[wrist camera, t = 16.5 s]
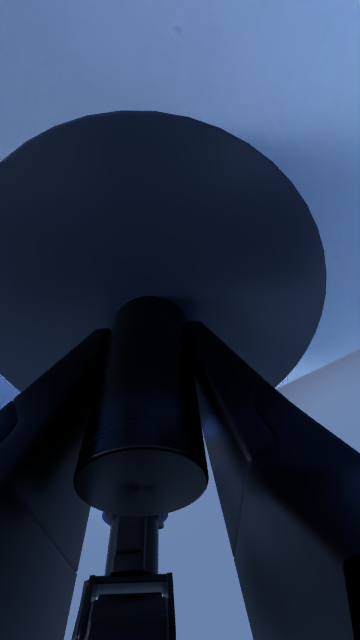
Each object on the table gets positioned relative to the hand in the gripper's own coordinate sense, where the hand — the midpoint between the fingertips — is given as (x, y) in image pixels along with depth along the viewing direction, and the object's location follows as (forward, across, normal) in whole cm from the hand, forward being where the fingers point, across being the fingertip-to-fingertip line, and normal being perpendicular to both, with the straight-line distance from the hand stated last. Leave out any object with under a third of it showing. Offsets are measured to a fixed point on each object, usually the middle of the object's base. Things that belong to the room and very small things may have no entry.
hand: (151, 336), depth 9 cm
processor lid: (+1, 0, 0) cm, 1 cm away
